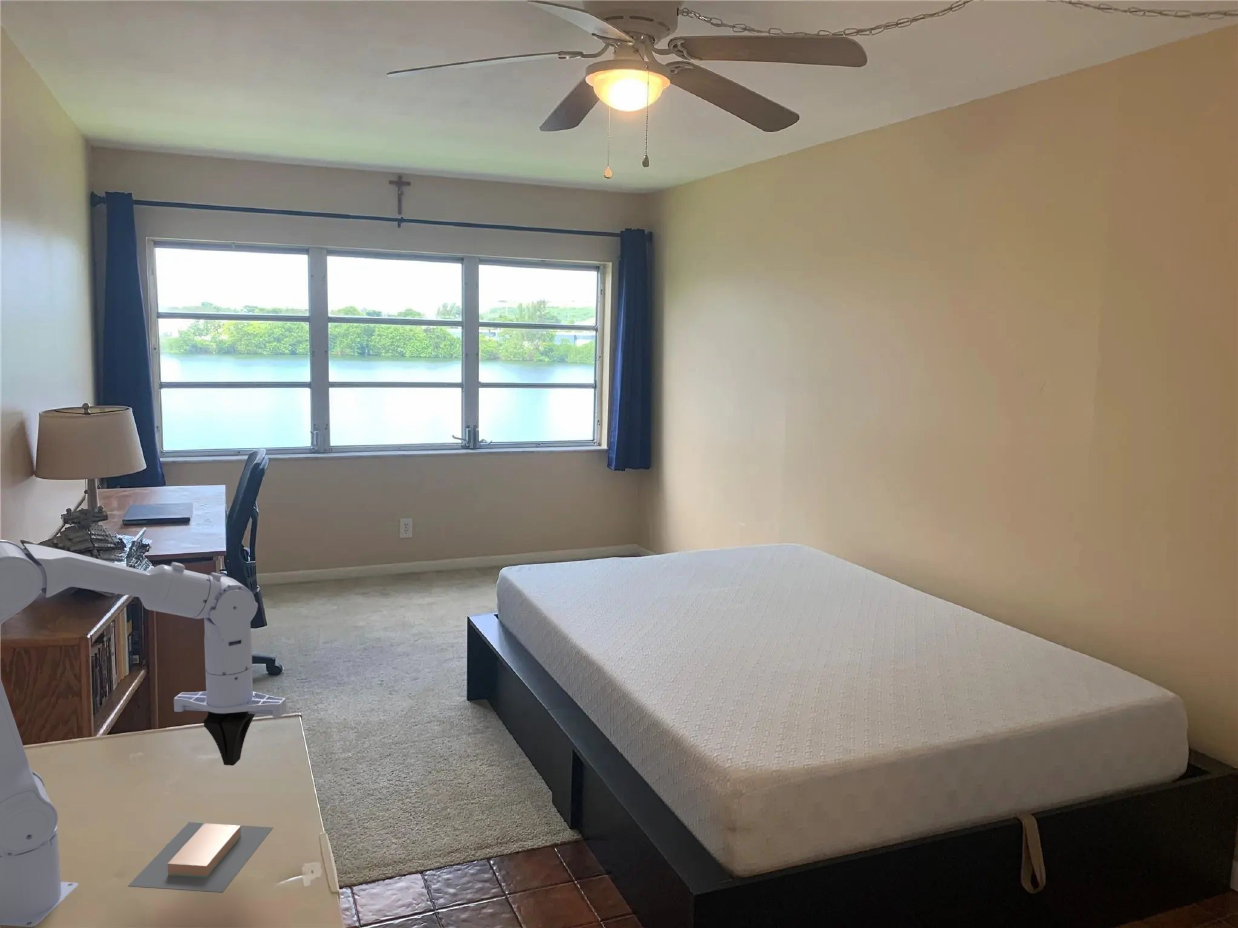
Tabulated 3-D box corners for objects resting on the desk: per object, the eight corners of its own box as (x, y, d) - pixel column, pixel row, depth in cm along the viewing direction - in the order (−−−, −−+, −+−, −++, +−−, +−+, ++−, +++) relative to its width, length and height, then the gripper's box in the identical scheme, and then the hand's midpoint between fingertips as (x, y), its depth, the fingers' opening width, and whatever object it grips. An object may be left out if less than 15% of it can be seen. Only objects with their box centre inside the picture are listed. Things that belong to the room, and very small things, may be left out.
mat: (128, 888, 107) (127, 885, 107) (189, 824, 120) (188, 821, 120) (222, 894, 106) (222, 891, 106) (273, 829, 120) (273, 827, 120)
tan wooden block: (206, 877, 109) (168, 874, 109) (240, 836, 118) (205, 833, 118) (206, 865, 108) (167, 863, 109) (240, 825, 117) (204, 823, 117)
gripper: (294, 658, 119) (296, 750, 121) (192, 653, 120) (195, 744, 122) (271, 679, 112) (274, 776, 114) (163, 673, 113) (167, 769, 115)
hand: (232, 761), depth 118 cm, fingers closed
